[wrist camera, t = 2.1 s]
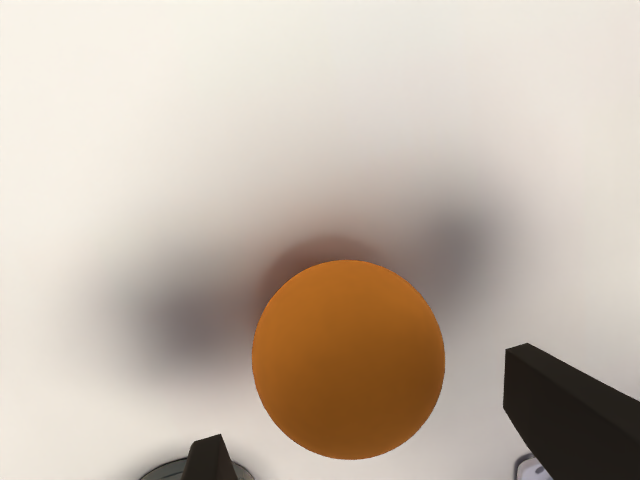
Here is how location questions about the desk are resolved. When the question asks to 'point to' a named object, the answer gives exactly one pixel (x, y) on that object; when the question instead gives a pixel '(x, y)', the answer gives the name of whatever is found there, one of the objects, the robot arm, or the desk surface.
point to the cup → (170, 474)
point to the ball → (348, 359)
